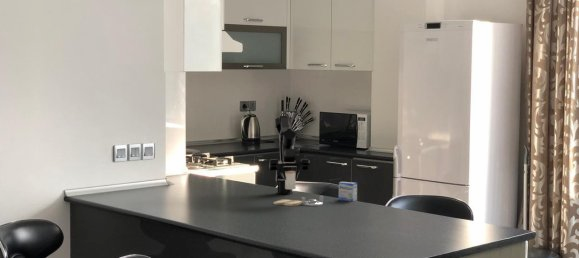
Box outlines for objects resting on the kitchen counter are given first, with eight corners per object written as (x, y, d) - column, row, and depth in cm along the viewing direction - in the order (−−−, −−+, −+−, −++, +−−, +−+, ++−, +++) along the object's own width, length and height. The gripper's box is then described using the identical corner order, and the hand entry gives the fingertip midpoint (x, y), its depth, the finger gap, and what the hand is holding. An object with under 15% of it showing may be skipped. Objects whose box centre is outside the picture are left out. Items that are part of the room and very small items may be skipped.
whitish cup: (283, 188, 373) (283, 171, 372) (290, 187, 377) (290, 170, 376) (290, 189, 370) (290, 172, 369) (297, 188, 373) (297, 171, 373)
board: (273, 204, 374) (273, 202, 374) (282, 201, 382) (282, 199, 382) (294, 206, 369) (294, 203, 369) (303, 203, 377) (303, 201, 377)
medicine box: (338, 200, 385) (338, 182, 384) (342, 199, 389) (342, 181, 388) (353, 201, 381) (353, 183, 381) (357, 200, 385) (357, 182, 385)
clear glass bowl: (298, 203, 376) (298, 195, 376) (318, 201, 381) (318, 194, 380) (306, 206, 368) (306, 199, 367) (327, 205, 372) (327, 197, 372)
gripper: (269, 142, 374) (271, 168, 364) (309, 141, 376) (312, 168, 366) (268, 156, 383) (270, 183, 373) (307, 156, 385) (310, 183, 375)
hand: (290, 179), depth 371 cm, fingers closed on whitish cup, 5 cm apart
